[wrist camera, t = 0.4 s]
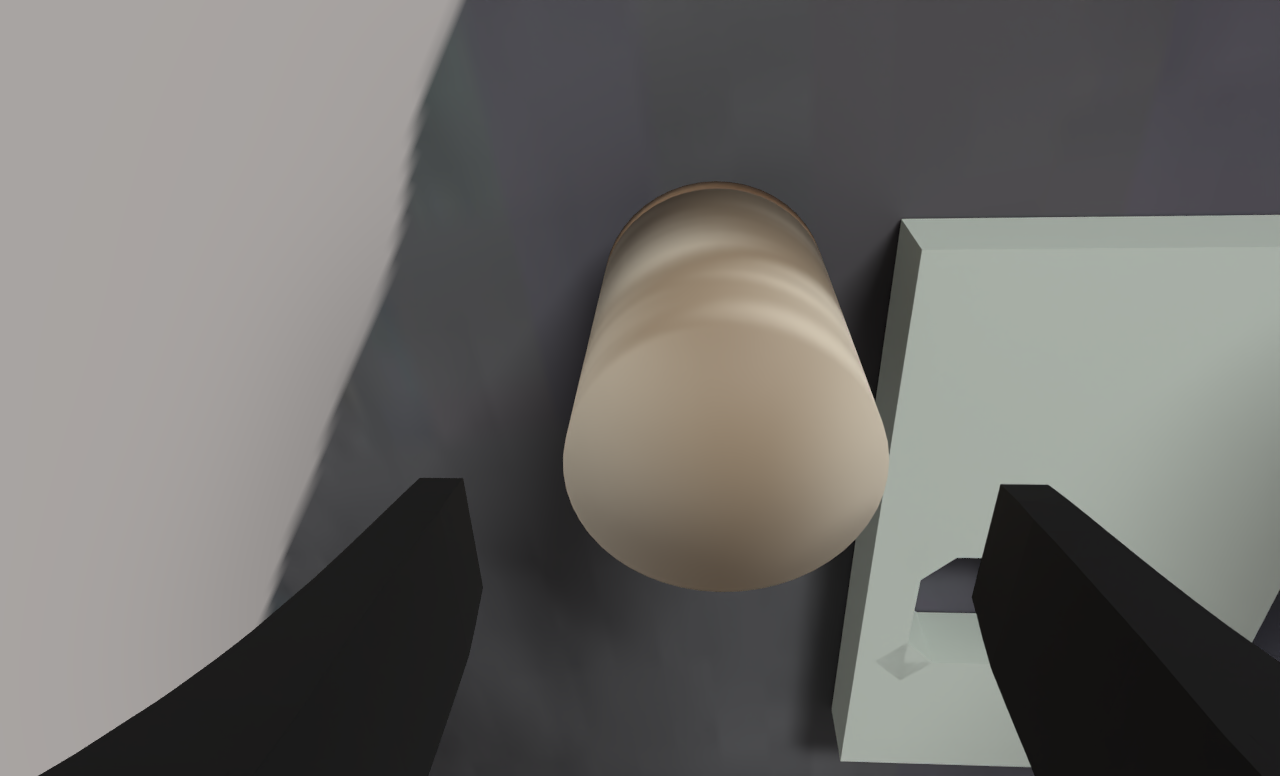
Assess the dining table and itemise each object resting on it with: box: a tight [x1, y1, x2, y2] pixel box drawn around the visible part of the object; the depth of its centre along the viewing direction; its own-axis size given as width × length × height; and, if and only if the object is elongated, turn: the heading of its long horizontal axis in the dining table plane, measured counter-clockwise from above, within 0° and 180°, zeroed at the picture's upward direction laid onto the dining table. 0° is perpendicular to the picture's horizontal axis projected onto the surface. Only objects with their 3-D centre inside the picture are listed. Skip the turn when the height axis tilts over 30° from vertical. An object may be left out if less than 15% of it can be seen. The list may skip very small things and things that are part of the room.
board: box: [831, 215, 1280, 767], centre depth 23 cm, size 11×18×2 cm, turn 1°
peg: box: [563, 181, 889, 592], centre depth 16 cm, size 5×5×9 cm
